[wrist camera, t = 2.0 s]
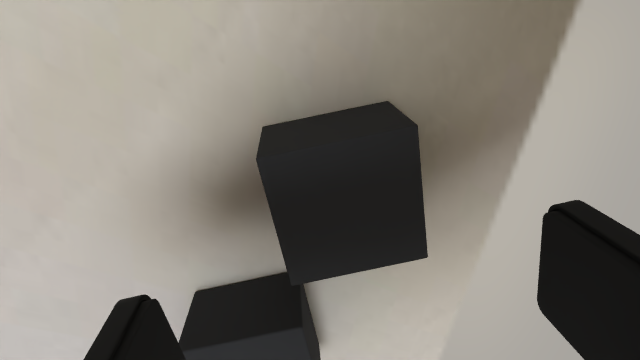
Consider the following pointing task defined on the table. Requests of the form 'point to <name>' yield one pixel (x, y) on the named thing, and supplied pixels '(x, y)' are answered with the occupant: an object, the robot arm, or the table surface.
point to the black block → (344, 191)
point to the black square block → (251, 323)
